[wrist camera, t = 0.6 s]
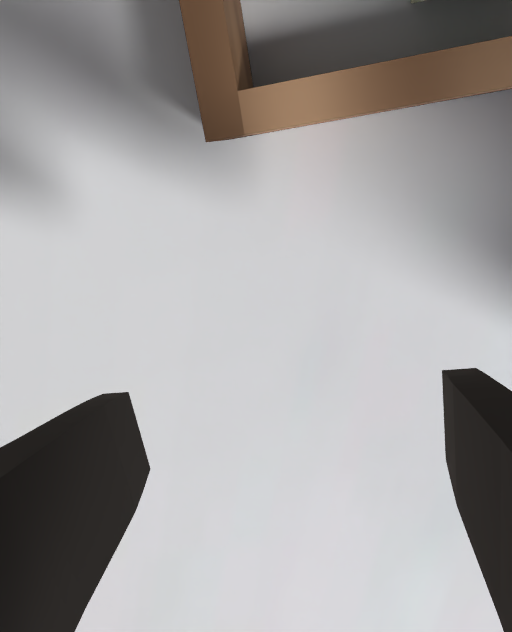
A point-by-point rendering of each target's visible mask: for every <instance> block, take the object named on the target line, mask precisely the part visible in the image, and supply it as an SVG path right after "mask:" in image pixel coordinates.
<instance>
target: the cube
mask: <svg viewBox="0 0 512 632" xmlns="http://www.w3.org/2000/svg"><path fill="white" fill-rule="evenodd" d="M421 1H425V0H411V4H412V3H416V2H421Z"/></svg>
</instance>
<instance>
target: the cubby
mask: <svg viewBox="0 0 512 632" xmlns="http://www.w3.org/2000/svg"><path fill="white" fill-rule="evenodd" d="M179 2H180V8H181V13H182V18H183V23H184V29H185V34H186V39H187V45H188V50H189V55H190V60H191V66H192V71H193V76H194V82H195V87H196V92H197V98H198V103H199V108H200V113H201V119H202V124H203V129H204V135H205V140H206V142H212V141H221V140H229V139H235V138H241V137H246V136H252V135H257V134H263V133H268V132H274V131H280V130H285V129H291V128H296V127H302V126H307V125H313V124H318V123H324V122H330V121H335V120H341V119H346V118H352V117H357V116H363V115H369V114H374V113H380V112H385V111H391V110H396V109H402V108H407V107H413V106H419V105H424V104H430V103H435V102H441V101H446V100H452V99H457V98H463V97H469V96H474V95H480V94H485V93H491V92H496V91H502V90H508V89H512V36H509V37H504V38H499V39H494V40H489V41H484V42H479V43H474V44H469V45H464V46H459V47H454V48H449V49H444V50H439V51H434V52H429V53H424V54H419V55H414V56H409V57H404V58H399V59H394V60H389V61H384V62H380V63H375V64H370V65H365V66H360V67H355V68H350V69H345V70H340V71H335V72H330V73H325V74H320V75H315V76H310V77H305V78H300V79H295V80H290V81H285V82H280V83H275V84H270V85H265V86H260V87H255V88H253V81H252V75H251V68H250V62H249V55H248V49H247V42H246V35H245V29H244V22H243V16H242V9H241V3H240V0H179Z"/></svg>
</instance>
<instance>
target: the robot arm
mask: <svg viewBox="0 0 512 632" xmlns="http://www.w3.org/2000/svg"><path fill="white" fill-rule="evenodd" d="M442 379H443V403H444V427H445V451H446V462H447V466H448V470H449V475H450V479H451V483H452V487H453V491H454V496H455V500H456V504H457V507H458V510H459V512H460V515H461V518H462V521H463V523H464V526H465V529H466V531H467V534H468V537H469V539H470V542H471V545H472V547H473V550H474V553H475V555H476V558H477V561H478V563H479V566H480V569H481V571H482V574H483V577H484V579H485V582H486V584H487V587H488V590H489V592H490V595H491V598H492V600H493V603H494V606H495V608H496V611H497V614H498V616H499V619H500V622H501V625H502V628H503V631H504V632H512V391H511V390H509V389H508V388H506V387H505V386H503V385H502V384H500V383H499V382H497V381H496V380H494V379H493V378H491V377H490V376H488V375H487V374H485V373H483V372H482V371H480V370H478V369H477V368H470V369H455V370H442ZM149 471H150V466H149V462H148V459H147V455H146V452H145V448H144V445H143V441H142V438H141V434H140V431H139V427H138V424H137V420H136V417H135V413H134V410H133V406H132V403H131V399H130V396H129V392H123V393H109V394H102V395H99V396H97V397H94V398H92V399H90V400H88V401H86V402H84V403H82V404H80V405H78V406H76V407H74V408H72V409H70V410H68V411H66V412H64V413H63V414H61V415H59V416H57V417H55V418H54V419H52V420H50V421H48V422H46V423H45V424H43V425H41V426H39V427H37V428H36V429H34V430H32V431H30V432H28V433H27V434H25V435H23V436H21V437H19V438H18V439H16V440H14V441H12V442H10V443H8V444H6V445H4V446H3V447H1V448H0V632H75V629H76V627H77V625H78V623H79V621H80V619H81V617H82V615H83V613H84V610H85V608H86V606H87V604H88V602H89V601H90V599H91V597H92V595H93V593H94V591H95V589H96V587H97V585H98V583H99V581H100V579H101V577H102V576H103V574H104V572H105V570H106V568H107V566H108V564H109V562H110V560H111V558H112V556H113V554H114V553H115V551H116V549H117V547H118V545H119V543H120V541H121V539H122V537H123V535H124V533H125V531H126V529H127V527H128V525H129V523H130V521H131V519H132V517H133V515H134V513H135V511H136V509H137V506H138V503H139V501H140V498H141V495H142V493H143V490H144V487H145V484H146V480H147V477H148V474H149Z"/></svg>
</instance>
